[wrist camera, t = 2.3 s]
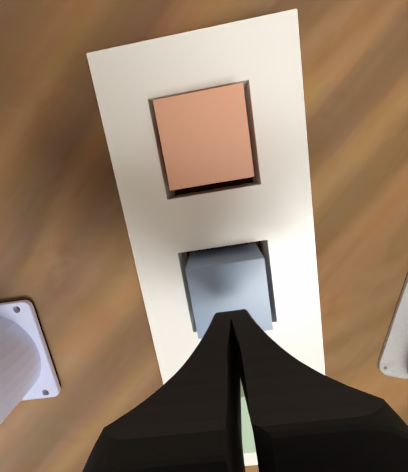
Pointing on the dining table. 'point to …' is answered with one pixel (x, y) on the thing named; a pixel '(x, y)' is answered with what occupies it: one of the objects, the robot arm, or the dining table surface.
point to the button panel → (221, 199)
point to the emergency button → (397, 341)
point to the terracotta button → (205, 136)
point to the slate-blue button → (228, 284)
